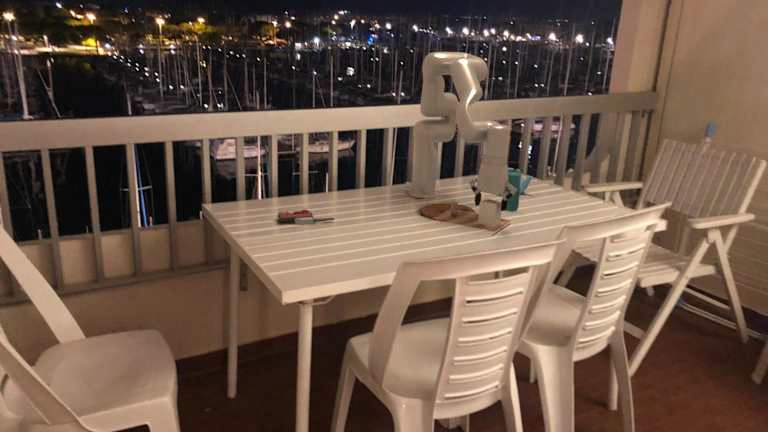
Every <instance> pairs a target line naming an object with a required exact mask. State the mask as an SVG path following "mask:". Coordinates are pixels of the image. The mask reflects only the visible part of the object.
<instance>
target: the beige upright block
mask: <svg viewBox="0 0 768 432" xmlns="http://www.w3.org/2000/svg"><path fill="white" fill-rule="evenodd" d="M501 203H502V200H499V199H494V198H488V197H487V198H484V199H481V201H480V205H479V207H478V208H479V209H478V214H479V219H478V223H479V224H484V225H489V226H493V227H494V226H496V225H497V224H499V223H500V221H501V219H502V211H501Z"/></svg>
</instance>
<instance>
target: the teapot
mask: <svg viewBox="0 0 768 432" xmlns="http://www.w3.org/2000/svg"><path fill="white" fill-rule="evenodd" d="M507 167H508V166H507ZM508 170H517V171H519V172H520V171H521V170H520V169H519V168H518V169H513V168H509V167H508ZM520 173H521V172H520ZM532 179H533V176H532V175H528V176H527V178H526V179H524V177H523V175H522V174H521V181H520V193H519V195H521V194H523V193H524V192H525V190H527V189H528V187H529V184H530V182H531V181H532Z"/></svg>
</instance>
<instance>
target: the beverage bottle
mask: <svg viewBox="0 0 768 432" xmlns="http://www.w3.org/2000/svg"><path fill="white" fill-rule="evenodd" d="M507 167H509V168H513V169H514V170H508V183H509V184H511V185H512V186H513V187H515V188H516V189H517V190H516V192H515V193H514V195H513V196H512V197H510V198H509V199H508V204H507V209H506V210H505V211H508V212H515V211H518V209H519V207H520V206H519V205H520V204H519V203H520V194H519V193H520V181H521V175H522V172H519V171H517V170H516V169H518V170H519V169H520V162H519V161H509V162H508V164H507ZM510 192H511V190H510V189H507V194H510ZM501 198H502V197H501ZM502 200H503V198H502ZM502 200H501V201H502Z"/></svg>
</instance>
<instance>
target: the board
mask: <svg viewBox="0 0 768 432" xmlns="http://www.w3.org/2000/svg"><path fill="white" fill-rule="evenodd" d="M432 219H435V220H437V221H443V222H447V223H452V224H455V225H460V226H466V227H471V228H474V229H475V228H476V229H479V230H484V231H487V232H495V231H496V232H495V233H493V234H492V235H491V236H492V237H493V236H495V235H497V234H498V233H500V232H501V231H503V230H505V228H507V227H509V226H510V225H511V223H510V222H511V220H510V219H506V218H501V221H500V223H499V224H497V225H496V226H494V227H493V226H489V225H484V224H479V223H478V219H479V213H477V212H472V211H467V210H463V209H459V202H458V201H452V202H451V206H450V208H448V209H447V210H446V211H443V212H441V213H439V214H437V215H435V216H433V217H432ZM503 226H504V227H503ZM500 228H501V229H500ZM499 229H500V230H499ZM497 230H498V231H497Z"/></svg>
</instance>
